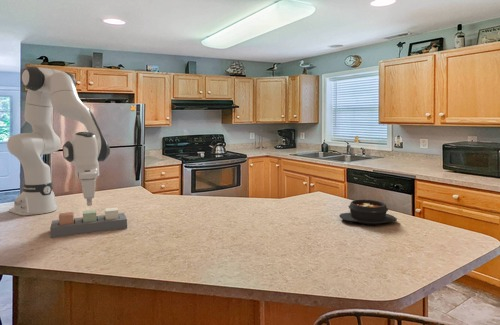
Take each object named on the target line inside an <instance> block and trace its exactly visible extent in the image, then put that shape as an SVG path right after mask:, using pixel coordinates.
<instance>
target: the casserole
mask: <svg viewBox="0 0 500 325" xmlns="http://www.w3.org/2000/svg"><path fill="white" fill-rule="evenodd" d="M348 209H349V211H350V212H344V213H340V214H339V215H338V216H339V218H340V219H342V220H344V221H347V222H354V223H355V222H356V223H359V224H362V225H369V226H371V225H373V226H374V225H375V226H376V225H381V224H384V223H392V222H396V221H398V219H397V218H396V217H395V216H394V215H393V214H392V215H391V214H389V213H387V212H388V211H389V208H388V207H387V204H386V203H385V202H382V201H378V200H374V199H356V200H352V201H351V202H350V204H349V205H348Z"/></svg>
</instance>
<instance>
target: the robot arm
mask: <svg viewBox="0 0 500 325" xmlns="http://www.w3.org/2000/svg"><path fill="white" fill-rule="evenodd" d="M21 83H22V84H23V86H24V88H25V89H27V91H26V92H27V93H26V98H25V103H24V104H25V106H24V116H23V117H24V120H25V122H27V123H28V124H29V125H31V129H32V132H23V133H22V132H21V133H17V134H14V135H11V136H9V138H8V139H7V141H6V147H7V150H8V152H9V153H10V154H11V155H13V156H14V157H16V158H17V160H19V162H20V164H21V166H22V169H23V175H24V184H22V185H21V186H22V188H23V189H22V192H21V193H20V194H19V195H18V196H17V197H16V198H15V199H14V204H13V205H14V206H13V207H11V208H9V209H8V212H10V213H13V214H15V215H19V216H29V215H31V216H33V215H34V216H35V215H42V214H47V213H51V212H55V211H57V210H58V208H59V205H58V204H57V201H56V196H55V192H54V191H53V189H54V188H53V185H54V184H53V182H52V177H51V176H52V175H51V174H52V173H51V167H50V165H49V164H47V163H46V162H44V161H43V160H42V157H41V155H49V154H52V153H56V152H57V151H60V148H61V146H62V145H61V144H62V139H61V138H60V137H59V135H58V134H56V133H55V130H54V128H53V123H52V122H53V121H52V117H53V110H54V111H55V112H56V113H57V114H58V115H60V116H62V117H65V118H69V119H72V120H75V121H78V122H80V123H81V124H83V125H84V127H85V129H86V131H79V132H75V133H74V135H73V138H72V139H71V140H68V141H67V140H66V142H64V144H63V146H62V157H63V159H64V160H66V161H67V162H69V163H74V171H75V172H74V173H75V178H77V179H78V180H79V182H80V184H81V190H82V195H83V197H84V199H85V200H86V206H88V207H91V206H92V205H93V199H94V198H95V193H96V192H95V191H96V181H97V179H98V177H99V176H100V164H99V162H104V161H105V160H106V159H108V157H109V156H110V153H111V147H110V145H109V143H108V141H107V140H106V138H105V136H104V135H103V132H102V130H101V128H100V126H99V124H98V122H97V120H96V118H95V116H94V114H93V112H92V110H91V108H90V107H88V106H87V105H86V104H84V102H82V100H81V99H80V96H79V94H78V91H77V88H76V86H77V79H76V78H75V76H74V75H73V74H72V73H70V72H68V71H63V70H59V69H56V68H47V67H37V66H26V67H25V69H23V71H22V74H21Z"/></svg>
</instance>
